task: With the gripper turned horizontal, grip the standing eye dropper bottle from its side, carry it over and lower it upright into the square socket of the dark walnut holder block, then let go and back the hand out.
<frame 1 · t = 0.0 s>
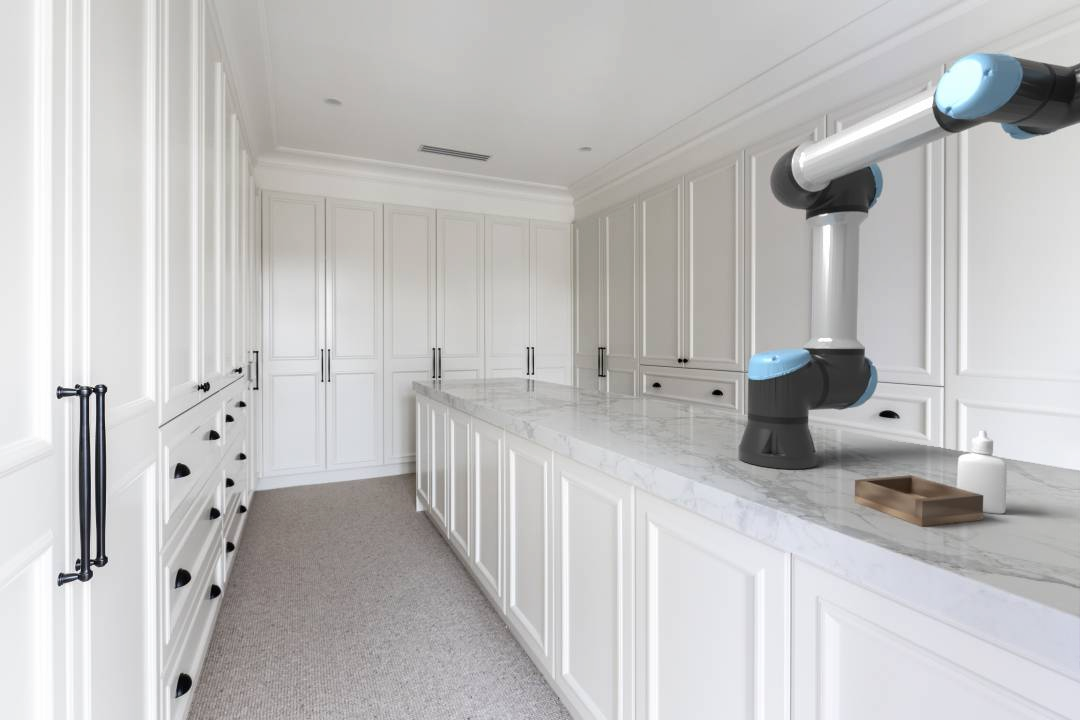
eye dropper bottle: (980, 510, 78), on the counter
walnut socket block: (915, 510, 77), on the counter
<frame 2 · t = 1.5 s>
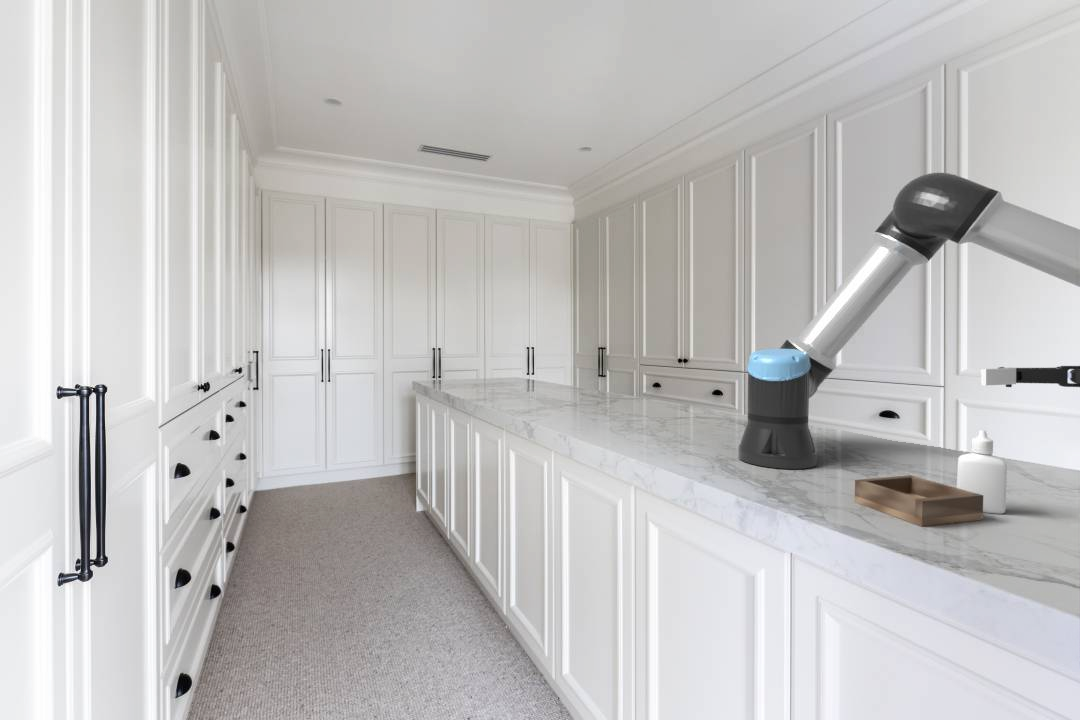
hand: (1030, 379, 79), 19 cm above the counter, tool horizontal, fingers open, 13 cm apart
nothing on the counter moved.
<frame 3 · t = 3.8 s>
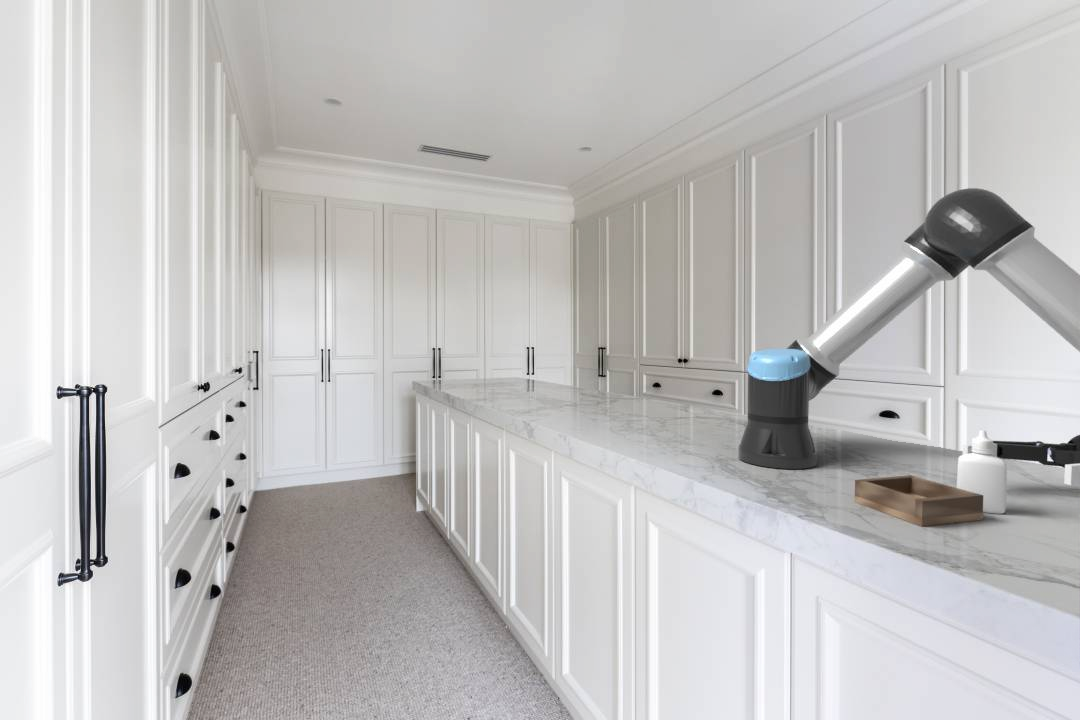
hand: (1011, 463, 78), 7 cm above the counter, tool horizontal, fingers open, 13 cm apart
nothing on the counter moved.
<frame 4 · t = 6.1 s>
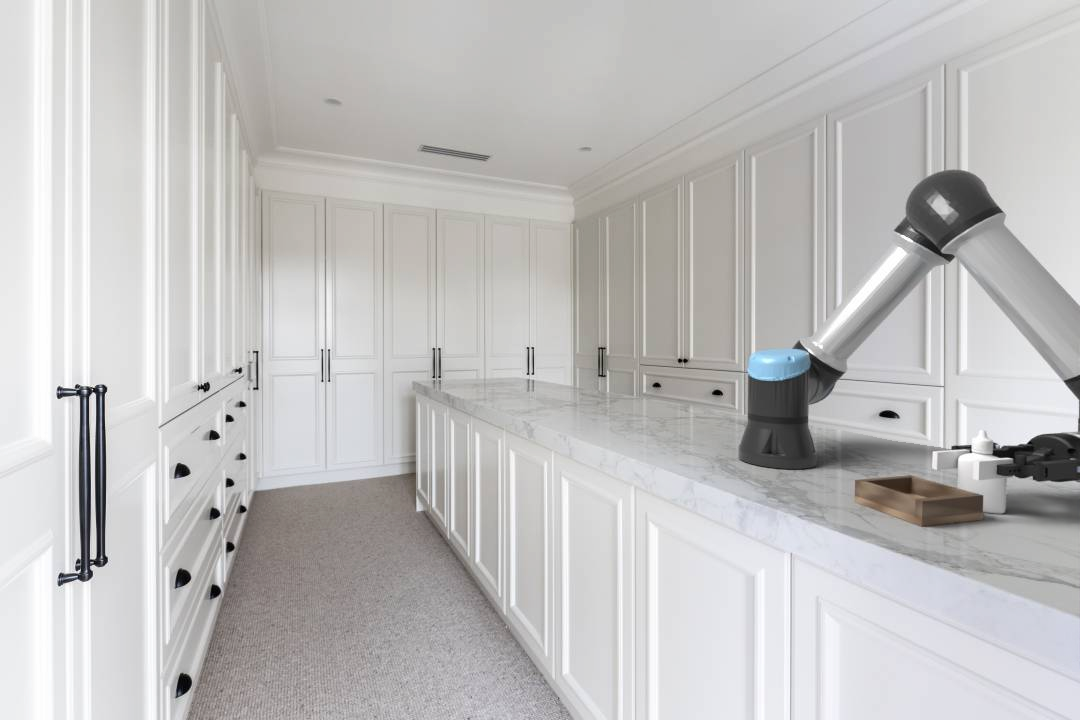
hand: (954, 465, 76), 7 cm above the counter, tool horizontal, fingers closed on eye dropper bottle, 5 cm apart
eye dropper bottle: (979, 510, 78), on the counter, touching gripper
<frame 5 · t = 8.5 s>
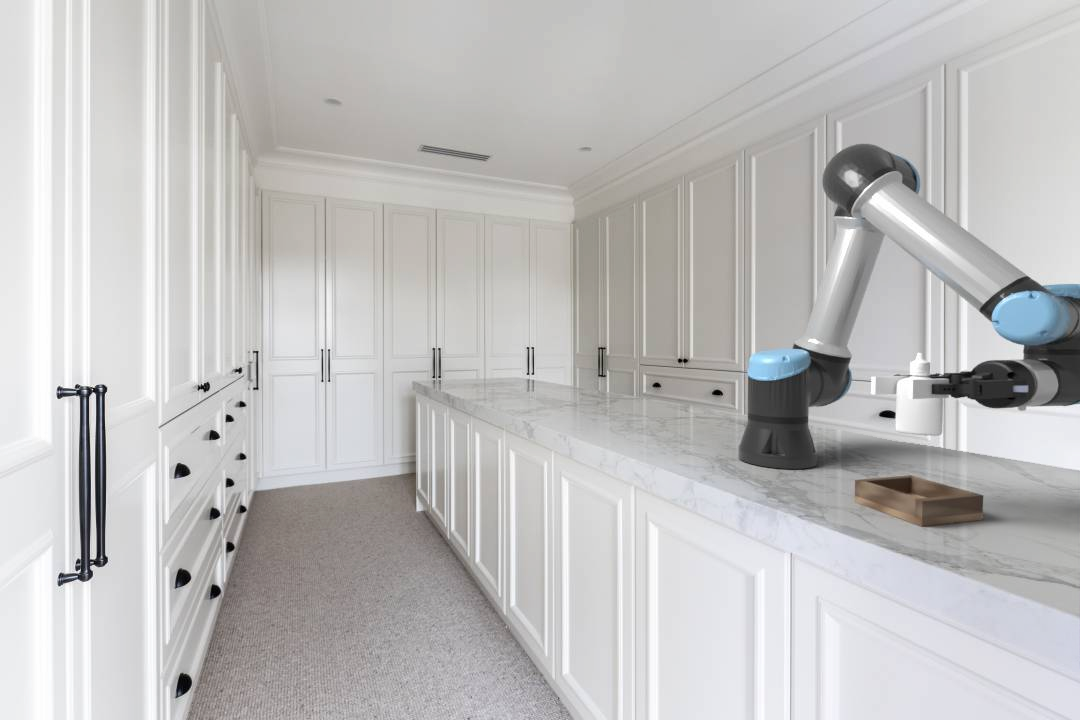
hand: (891, 387, 75), 19 cm above the counter, tool horizontal, fingers closed on eye dropper bottle, 5 cm apart
eye dropper bottle: (918, 434, 77), point 11 cm above the counter, touching gripper
when the fingers open (9 cm above the counter, at t = 10.9 s): eye dropper bottle drops 1 cm, resting on walnut socket block.
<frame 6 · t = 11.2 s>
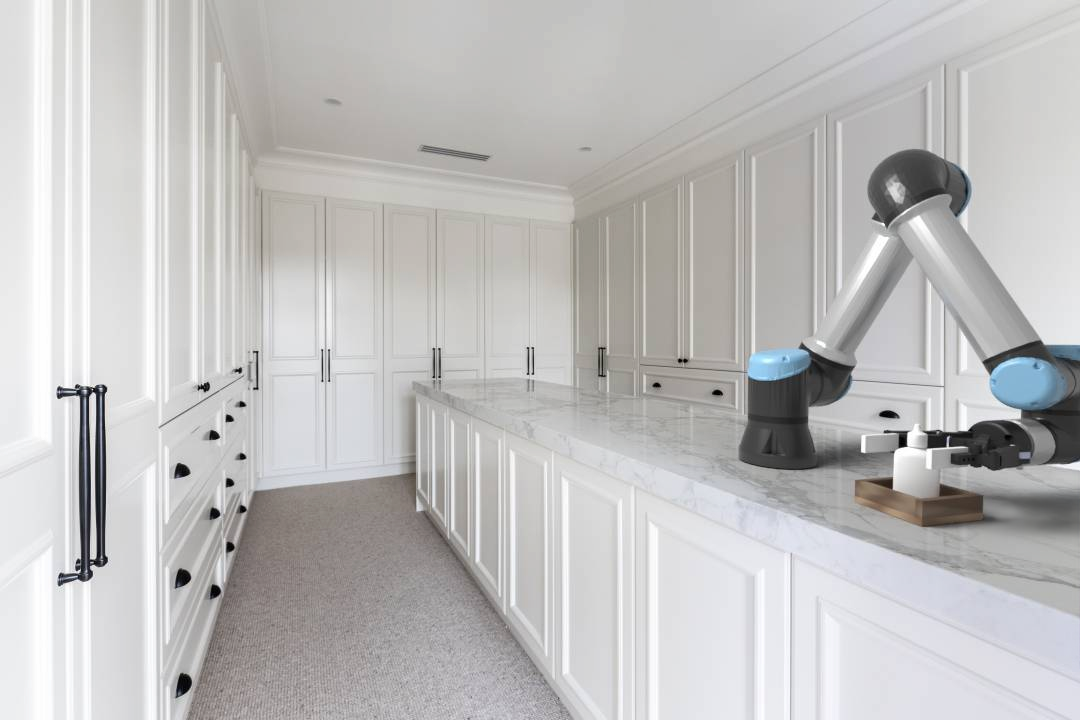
hand: (893, 451, 76), 9 cm above the counter, tool horizontal, fingers open, 10 cm apart
eye dropper bottle: (915, 504, 77), point 1 cm above the counter, touching walnut socket block
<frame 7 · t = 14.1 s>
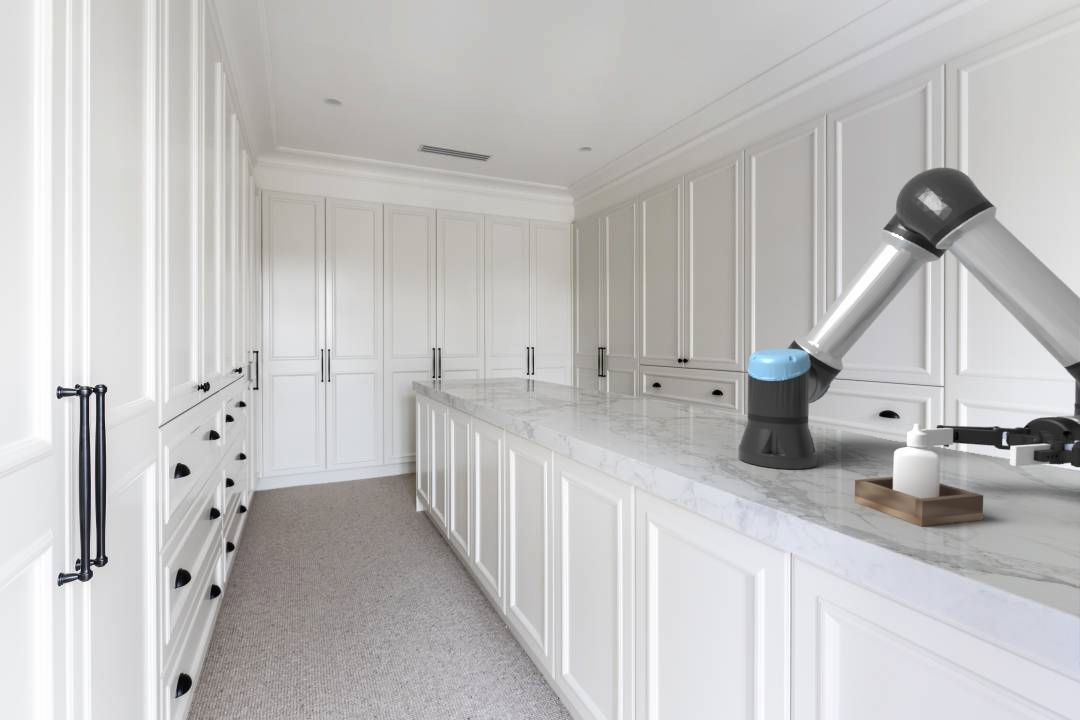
hand: (962, 446, 79), 9 cm above the counter, tool horizontal, fingers open, 13 cm apart
nothing on the counter moved.
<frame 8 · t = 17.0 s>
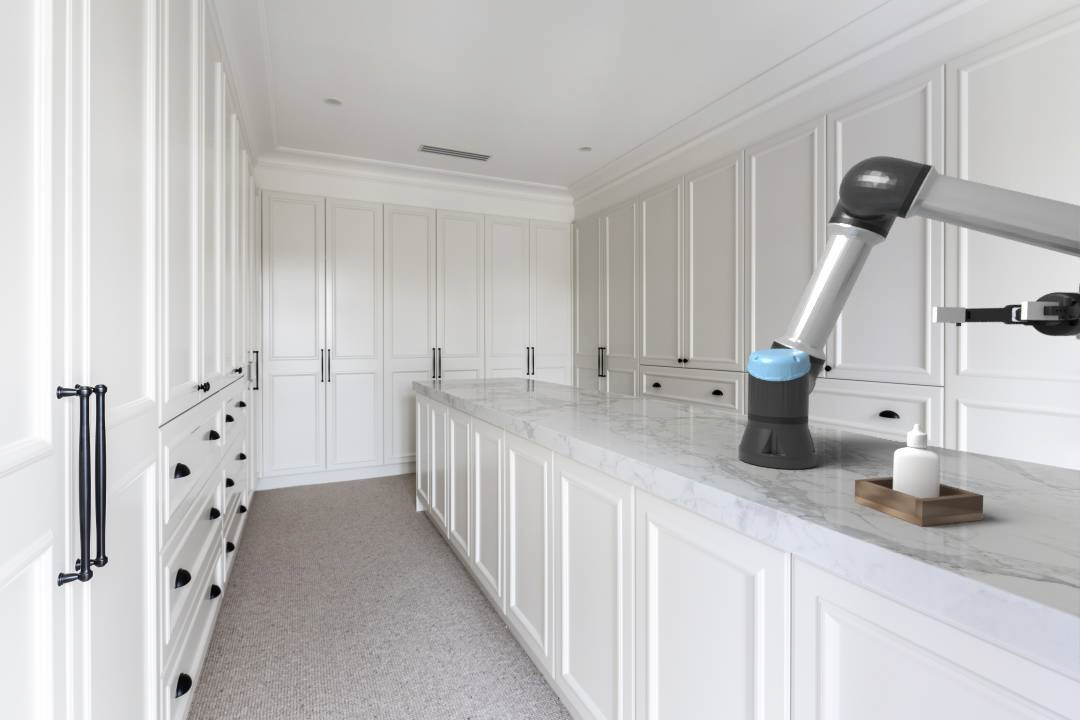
hand: (975, 312, 84), 30 cm above the counter, tool horizontal, fingers open, 13 cm apart
nothing on the counter moved.
at the end: eye dropper bottle 0.1 cm off-centre on the walnut socket block, point 0.8 cm above the walnut socket block's base; eye dropper bottle tilted 0°; the gripper is holding nothing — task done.
